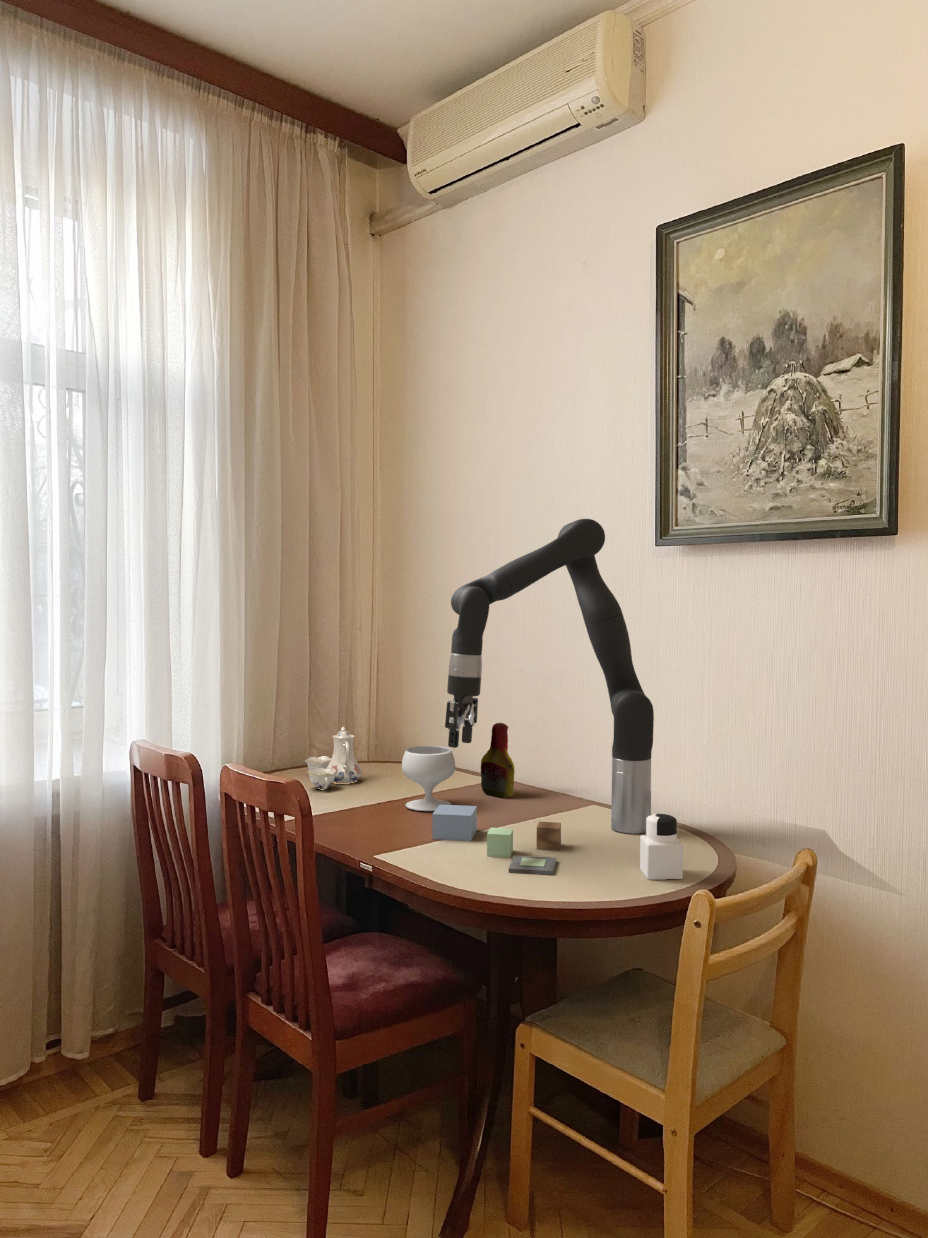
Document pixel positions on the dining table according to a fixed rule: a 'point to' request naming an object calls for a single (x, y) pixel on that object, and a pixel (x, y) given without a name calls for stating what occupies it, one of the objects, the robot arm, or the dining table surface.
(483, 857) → the dining table surface
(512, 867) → the tile
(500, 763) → the bottle
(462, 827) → the base block
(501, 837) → the sage cube
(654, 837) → the medicine bottle
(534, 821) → the dining table surface
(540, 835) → the walnut cube
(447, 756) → the chalice
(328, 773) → the chinaware
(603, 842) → the dining table surface
